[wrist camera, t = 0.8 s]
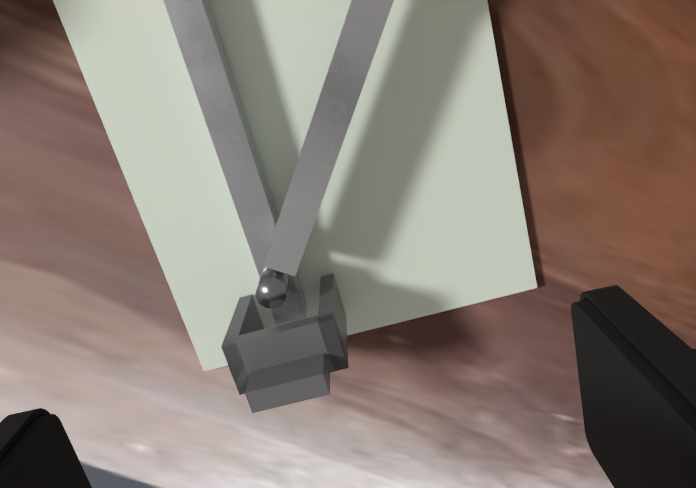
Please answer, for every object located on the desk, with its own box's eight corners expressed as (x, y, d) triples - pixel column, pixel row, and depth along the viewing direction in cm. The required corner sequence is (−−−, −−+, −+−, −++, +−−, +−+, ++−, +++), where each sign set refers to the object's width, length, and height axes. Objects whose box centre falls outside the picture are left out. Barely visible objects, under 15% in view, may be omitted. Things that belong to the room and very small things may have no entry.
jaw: (371, -88, 27) (374, -98, 25) (423, -66, 27) (430, -74, 25) (259, 250, 32) (255, 263, 30) (304, 265, 33) (302, 278, 31)
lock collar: (239, 297, 36) (213, 367, 28) (333, 273, 35) (332, 337, 28) (254, 339, 37) (233, 417, 29) (346, 315, 36) (349, 389, 29)
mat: (34, -58, 30) (28, -60, 29) (451, -187, 28) (453, -192, 28) (206, 366, 38) (204, 371, 38) (534, 284, 37) (537, 287, 36)
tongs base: (145, -69, 30) (105, -92, 25) (193, -84, 30) (163, -110, 24) (274, 305, 37) (264, 349, 32) (313, 295, 37) (310, 337, 31)
